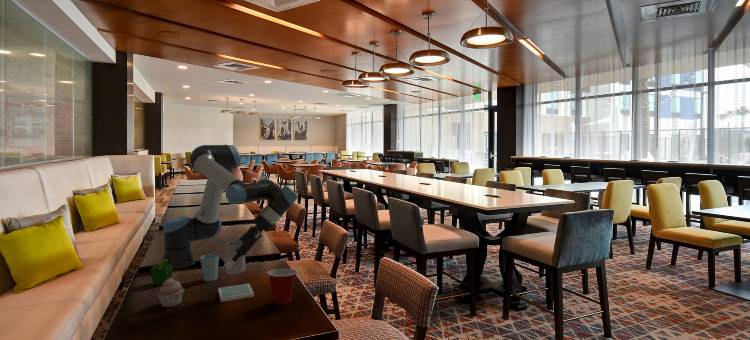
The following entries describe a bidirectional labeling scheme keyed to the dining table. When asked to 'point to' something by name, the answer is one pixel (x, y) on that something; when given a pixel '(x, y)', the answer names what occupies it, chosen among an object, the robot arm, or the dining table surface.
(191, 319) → the dining table surface
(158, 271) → the bell pepper
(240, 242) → the can
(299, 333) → the dining table surface
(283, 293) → the plastic cup
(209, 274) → the cup
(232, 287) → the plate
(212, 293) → the dining table surface
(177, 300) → the cupcake
